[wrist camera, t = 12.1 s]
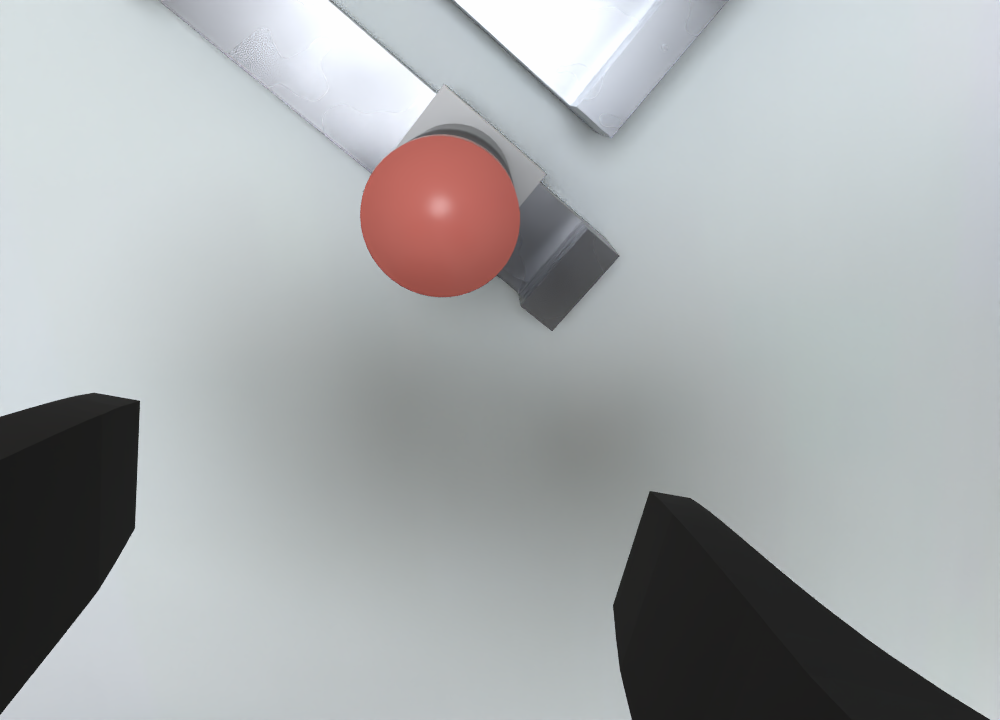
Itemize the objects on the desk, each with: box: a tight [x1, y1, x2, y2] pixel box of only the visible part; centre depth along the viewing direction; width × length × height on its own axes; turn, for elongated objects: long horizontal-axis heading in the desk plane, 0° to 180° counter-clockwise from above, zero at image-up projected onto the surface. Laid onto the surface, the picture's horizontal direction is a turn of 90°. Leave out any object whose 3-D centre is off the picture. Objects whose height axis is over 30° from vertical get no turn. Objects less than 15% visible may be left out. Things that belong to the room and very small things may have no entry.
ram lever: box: [360, 85, 546, 297], centre depth 14 cm, size 3×3×6 cm
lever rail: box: [159, 0, 619, 331], centre depth 17 cm, size 13×2×2 cm, turn 50°
